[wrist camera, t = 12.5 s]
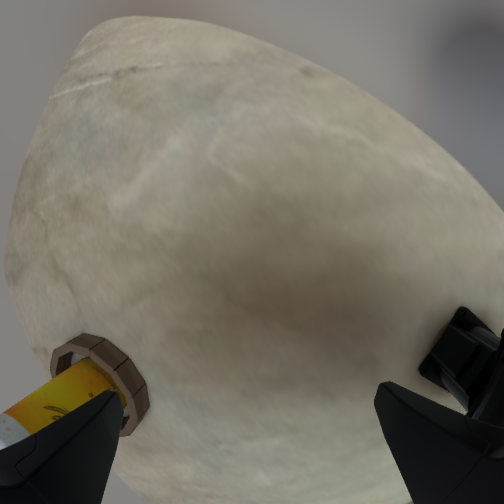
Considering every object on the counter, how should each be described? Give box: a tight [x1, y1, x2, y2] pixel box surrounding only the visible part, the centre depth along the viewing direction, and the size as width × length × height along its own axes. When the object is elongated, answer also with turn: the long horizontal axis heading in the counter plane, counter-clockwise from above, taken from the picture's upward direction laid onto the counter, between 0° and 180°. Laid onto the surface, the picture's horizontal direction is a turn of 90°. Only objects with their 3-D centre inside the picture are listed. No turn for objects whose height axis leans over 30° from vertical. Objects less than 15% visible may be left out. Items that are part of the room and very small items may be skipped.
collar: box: [50, 333, 150, 437], centre depth 21 cm, size 10×10×2 cm
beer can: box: [0, 358, 126, 450], centre depth 15 cm, size 6×6×15 cm
